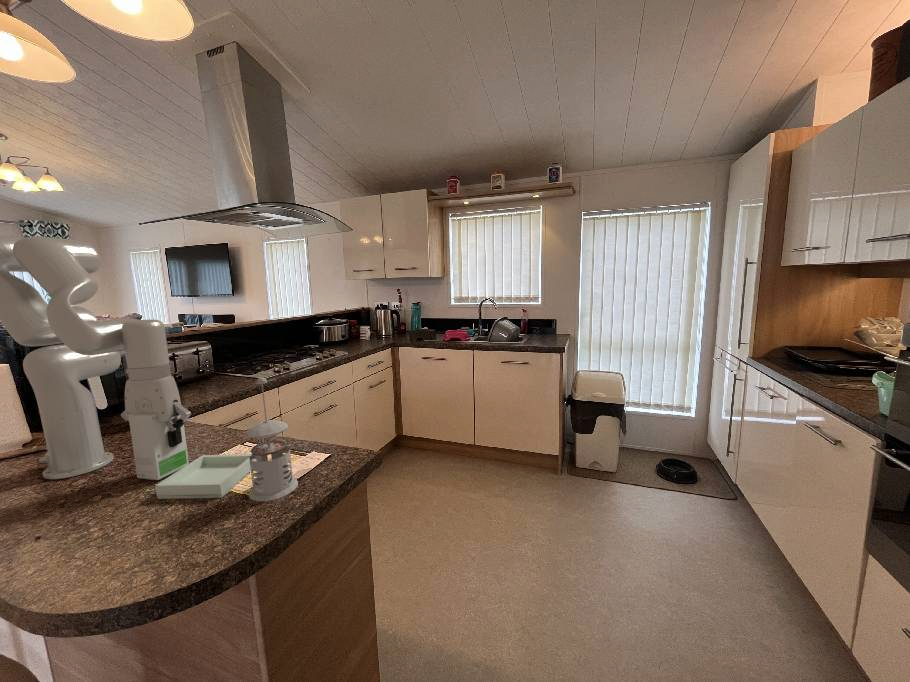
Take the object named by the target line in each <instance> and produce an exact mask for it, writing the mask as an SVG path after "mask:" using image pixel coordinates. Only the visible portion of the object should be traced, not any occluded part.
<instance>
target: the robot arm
mask: <svg viewBox="0 0 910 682" xmlns="http://www.w3.org/2000/svg"><path fill="white" fill-rule="evenodd" d="M101 261H102V260H101V256H100V254H99V252H98V251H97V249H95V247H94V246H92V245H91V244H90V243H88V242H85V241H83V240H80V239H79V240H78V239H73V238H72V239H71V238H61V237H51V236H43V235H42V236H41V235H40V236H39V235H36V236H35V235H34V236H33V235H32V236H26V237H23V236H15V235H14V236H13V235H5V234H4V235H3V234H0V322H1V324H2V326H3V327H4V329H5V330H6V331H7V333H8V334H9V335H10V337H11V338H12V339H13V340H14V341H15V342H16V343H18V344H19V345H21V346H24V347H39V348H36V349H35V350H32V351H31V352H29V353H28V354H26V355H25V357H24V359H23V361H22V367H23V372H24V374H25V375H26V378H27V380H28V381H29V384H30V385H31V387H32V390H33V392H34V396H35V399H36V402H37V407H38V413H39V416H40V420H41V425H42V430H43V435H44V439H45V444H46V448H47V452H46V453H45V454H44V456H41V457H40V458H39V459H38V462H39V463H43V464H44V463H47V468H46V469H45V468H44V470H43V471H42V478H43V479H46V480H62V479H66V478H72V477H77V476H81V475H84V474H87V473H90V472H93V471H95V470H98V469H100V468H103V467H104V466H107V465H108V464H110V463H111V462H112V461H113V460H114V454H113V453H112V452H110V451H105V448H104V443H103V437H102V434H101V433H102V432H101V427H100V421H99V417H98V411H97V405H96V400H95V397H94V395H93V393H92V392H91V391H90V390H89V389H88V388H87V387H85V386H84V385H83V384H81V382H80V381H83V380H87V379H92V378H96V377H100V376H105V375H108V374H109V375H110V374H112V373H114V372H115V371H117V370H118V369H119V368H120V366H121V362H122V356H121V353H120V352H124V353H125V355H124V357H126V362H127V369H126V373H127V374H128V375H129V380H127V381H126V380H125V386H124V409H125V410H124V411H122V413H121V414H120V417H121V418H122V419H123V420H124V421H125V422H126V424H127V425H128V426H130V424H129V418H128V415H129V414H156V417H157V422H159V423H161V422H165V424H166V425H167V427H168V428H169V430H170V431H168V433H167V434H168V441H169V447H175V446H176V445H178V444H180V443H182V435H181V427H182V426H183V424H184V425H185V423H186V422H188V420H189V418H190V416H191V415H192V413H191V411H190V410H189V409H187V408H186V407H184V406H183V405H182V403H181V397H180V393H179V392H180V391H179V388H178V386H177V385H178V384H177V382H176V380H175V378H174V376H172V372H171V365H170V357H169V351H168V343H167V342H168V341H167V334H166V329H165V328H166V327H165V324H164V322H162V321H161V320H158V319H137V318H132V317H131V318H130V317H127V318H126V317H125V318H116V319H115V318H110V319H100V320H99V319H98V318H97V316H96V315H95V314H94V313H93V312H92V311H90V310H88V309H87V308H84V307H82V306H79V305H80V304H83V303H86V302H87V301H89V300H90V299H92V298H93V297H95V295H96V294H97V292H98V290H99V283H98V282H97V280H96V279H95V278H94V277H93V276H92V274H93V273H96V272H97V271H98V270H99V269H100V267H101ZM11 272H15V273H17V272H18V273H20V272H21V273H28V274H29V275H30V276H31V277H32V278H33V279H34V280H35V281H36V282H37V284H39V286H40V287H41V288H42V289H44V290H43V291H45V292H46V293H47V294H48V295H49V296H50V300H49V301H48V303H47V301H45V299H44V298H43V297H42V295H41V294H40V292H39V291H38V290H37V289H36V288H35V287H34V286H32V285H31V284H30V283H28V282H27V281H25V280H24V279H21V278H19V277H17V276H16V275H14V274H12V273H11ZM174 410H175V411H176V412H177V413H176V412H175V411H174ZM172 415H173V416H172ZM179 415H180V418H179V417H178V416H179ZM172 419H173V420H174V422H175V423H174V424H173V422H172V421H171V420H172Z"/></svg>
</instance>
